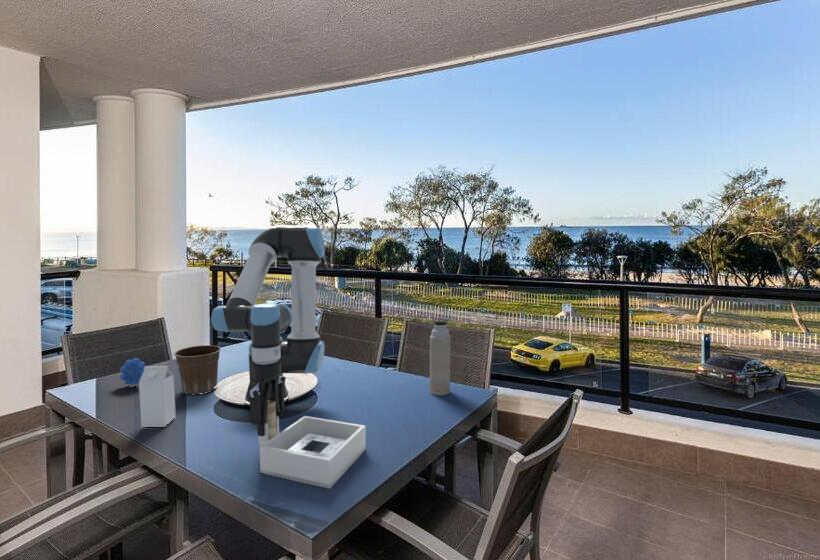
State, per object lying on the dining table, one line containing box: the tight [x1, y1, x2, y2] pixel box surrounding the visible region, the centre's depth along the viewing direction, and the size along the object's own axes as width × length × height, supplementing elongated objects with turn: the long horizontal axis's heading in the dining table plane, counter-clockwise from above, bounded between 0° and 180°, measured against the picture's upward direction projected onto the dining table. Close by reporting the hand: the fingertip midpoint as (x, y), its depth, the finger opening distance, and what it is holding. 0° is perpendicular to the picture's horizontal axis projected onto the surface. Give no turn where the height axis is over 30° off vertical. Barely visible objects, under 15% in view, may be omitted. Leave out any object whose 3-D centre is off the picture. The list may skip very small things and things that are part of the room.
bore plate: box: [288, 433, 346, 458], centre depth 112 cm, size 12×12×3 cm
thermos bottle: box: [429, 320, 452, 396], centre depth 162 cm, size 8×8×28 cm
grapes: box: [119, 357, 146, 386], centre depth 168 cm, size 12×7×12 cm, turn 82°
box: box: [259, 415, 367, 490], centre depth 111 cm, size 20×20×7 cm
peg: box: [261, 400, 277, 440], centre depth 116 cm, size 4×4×14 cm
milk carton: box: [138, 365, 176, 428], centre depth 133 cm, size 7×7×19 cm
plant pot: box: [174, 344, 222, 395], centre depth 164 cm, size 16×16×16 cm
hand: (269, 441), depth 117 cm, fingers closed on peg, 4 cm apart
